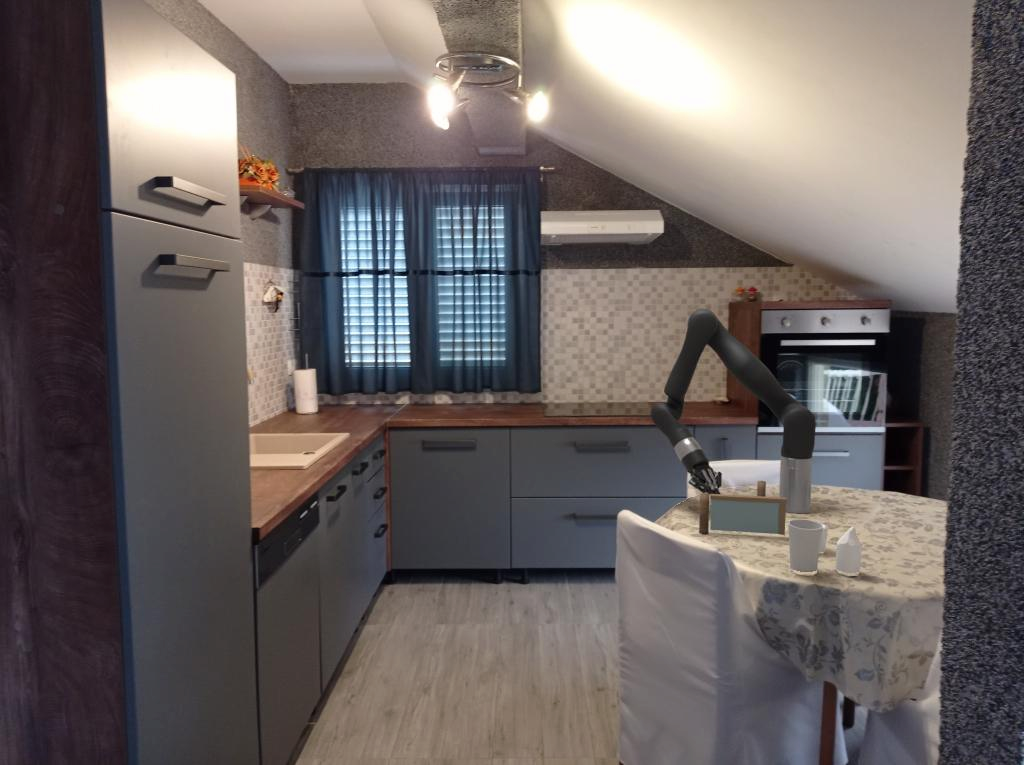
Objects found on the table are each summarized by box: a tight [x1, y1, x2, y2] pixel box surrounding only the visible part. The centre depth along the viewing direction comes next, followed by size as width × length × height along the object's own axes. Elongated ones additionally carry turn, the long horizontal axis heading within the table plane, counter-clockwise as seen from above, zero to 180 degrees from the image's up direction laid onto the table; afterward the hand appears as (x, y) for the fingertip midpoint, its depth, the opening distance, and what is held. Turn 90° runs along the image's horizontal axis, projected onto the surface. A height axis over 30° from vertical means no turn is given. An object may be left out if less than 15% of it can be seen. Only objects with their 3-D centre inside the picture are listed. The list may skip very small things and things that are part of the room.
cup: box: [787, 518, 823, 572], centre depth 173 cm, size 8×8×12 cm
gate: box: [709, 493, 787, 536], centre depth 198 cm, size 20×2×10 cm, turn 77°
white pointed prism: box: [834, 525, 863, 573], centre depth 172 cm, size 6×12×6 cm
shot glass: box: [819, 522, 829, 553], centre depth 187 cm, size 7×7×7 cm
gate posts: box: [698, 480, 767, 535], centre depth 207 cm, size 27×3×11 cm, turn 121°
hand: (720, 502), depth 212 cm, fingers closed
